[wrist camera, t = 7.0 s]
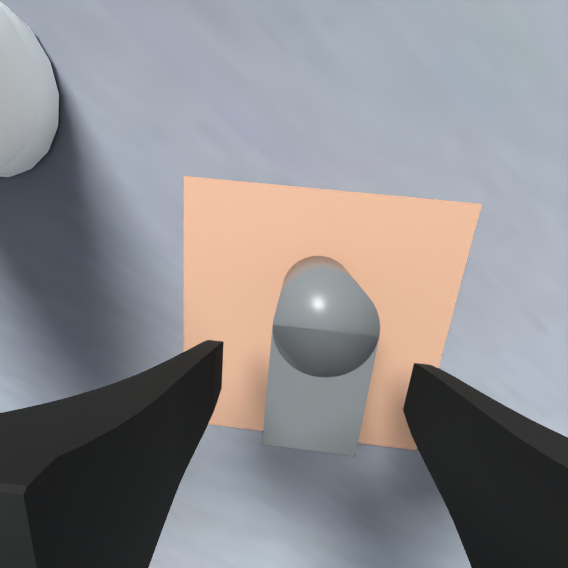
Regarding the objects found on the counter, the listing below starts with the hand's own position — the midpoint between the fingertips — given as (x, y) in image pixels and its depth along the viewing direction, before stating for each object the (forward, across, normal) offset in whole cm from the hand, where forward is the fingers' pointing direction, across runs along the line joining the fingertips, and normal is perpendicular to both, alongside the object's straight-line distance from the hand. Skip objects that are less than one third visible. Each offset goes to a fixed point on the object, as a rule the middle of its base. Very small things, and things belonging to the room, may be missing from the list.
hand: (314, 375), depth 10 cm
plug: (+4, 0, 0) cm, 5 cm away
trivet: (+5, 0, 0) cm, 5 cm away
